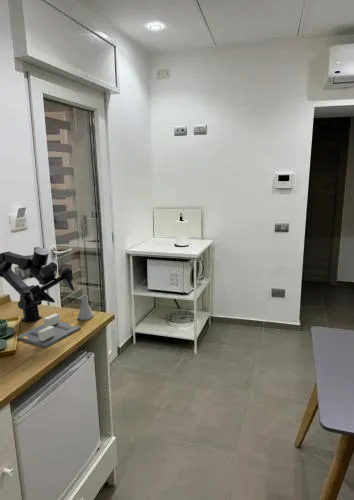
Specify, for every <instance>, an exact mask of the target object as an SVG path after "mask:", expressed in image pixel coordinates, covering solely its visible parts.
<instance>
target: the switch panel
mask: <svg viewBox="0 0 354 500" xmlns="http://www.w3.org/2000/svg"><path fill="white" fill-rule="evenodd" d="M59 321H60V322H59V323H57V324H55V325H53V327H54V328H55V335H54V336H52V337H50V338H49V339H47V340H45V341H41V340H39V336H38V331H40V330H42V329H44V328H46V326H45V323H43V324H41V325H38V326H37V327H34V328H33V329H30V330H28V331H26V332H24V333H22V334H19V335H17V336H18V340H20V341H23V342H25V343H28V344H31V345H32V344H33V345H35V346H39V347H42V348H45V349H46V348H48V347H50V346H52V345H54V344H56V343H58V342H59V341H61V340H63V339H65V338H67V337H69V336H71V335H72V334H74V333H76V332H78V331H79V330H81V329H82V327H81V326H80V325H77V324H76V325H75V324H71V323H68V322H64V321H61V320H59Z"/></svg>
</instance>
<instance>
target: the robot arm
mask: <svg viewBox="0 0 354 500" xmlns="http://www.w3.org/2000/svg"><path fill="white" fill-rule="evenodd" d="M49 254H50V251H49V250H48V249H46V248H44V247H40V246H35V247H34V249H33V254H29V255H21V254H18V253H14V252H12V251H5V252H1V253H0V278H2V279H4V280H5V281H6V282H7V284H9V285H10V286H11V287H12V288H13V289H14V290H15V291H16V292H17V293H18V294H19V300H18V302H17V306H18V309H20V310H22V311H23V312H22V313H23V317H22V318H20V321H24V322H26V323H30V324H31V323H34V322H35V321H37V320H40V319H42V316H40V313H39V311H40V310H39V306H41V305H42V303H43V302H50V303H52V304H54V303H56V301H55V300H54V298H53V297H52V296H50V294H48V293H47V292H46V291H48V290H50V289H51V288H54V286H56V285H58V284H60V283H64V284H65V286H66V287H67V288H69V290H71V291H75V288H74V286H73V283H72V281H73V279H74V278H73V270H72V269H71V268H69V267H67V268H65V269H63V270H61V271H60V272H59V273H60V276H58V277H57V278H56V276H57V275H56V273H55V271H57V269H58V265H57V264H56V263H55V262H54V261H52V262H50V263H48V259H49ZM13 265H16V266H17V267H18V269H20V270H22V271H24V272H26V271H29V279H33V278H34V279H36V281H38V283H39V284H36V285H35V284H34V285H33V284H32V285H28V284H27V283H26V282H25V281H24V280H23V279H22V278H21V277H20V276H18V275H17V273H16V272H14V271H13V270H12V267H13ZM40 285H41V286H40Z"/></svg>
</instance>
